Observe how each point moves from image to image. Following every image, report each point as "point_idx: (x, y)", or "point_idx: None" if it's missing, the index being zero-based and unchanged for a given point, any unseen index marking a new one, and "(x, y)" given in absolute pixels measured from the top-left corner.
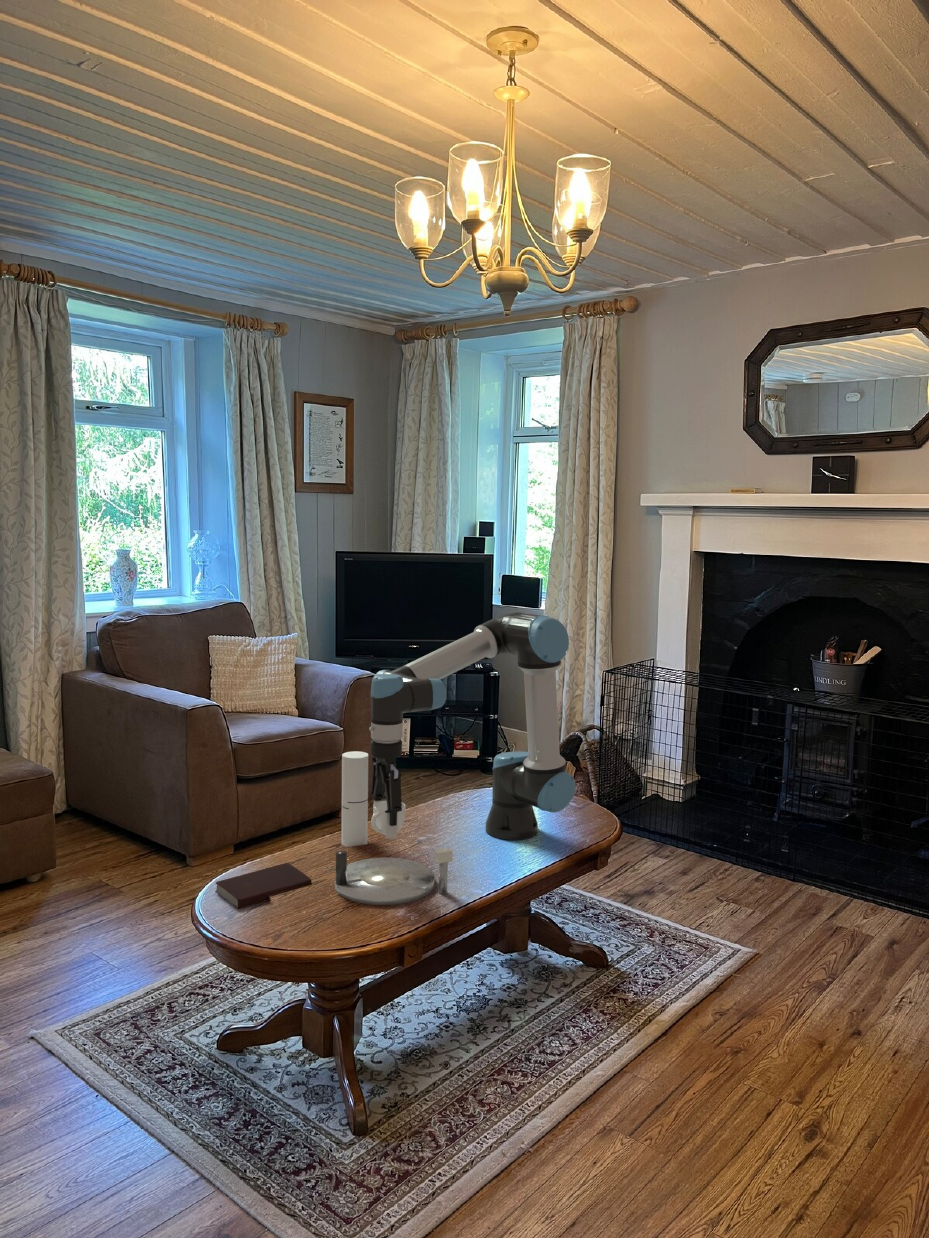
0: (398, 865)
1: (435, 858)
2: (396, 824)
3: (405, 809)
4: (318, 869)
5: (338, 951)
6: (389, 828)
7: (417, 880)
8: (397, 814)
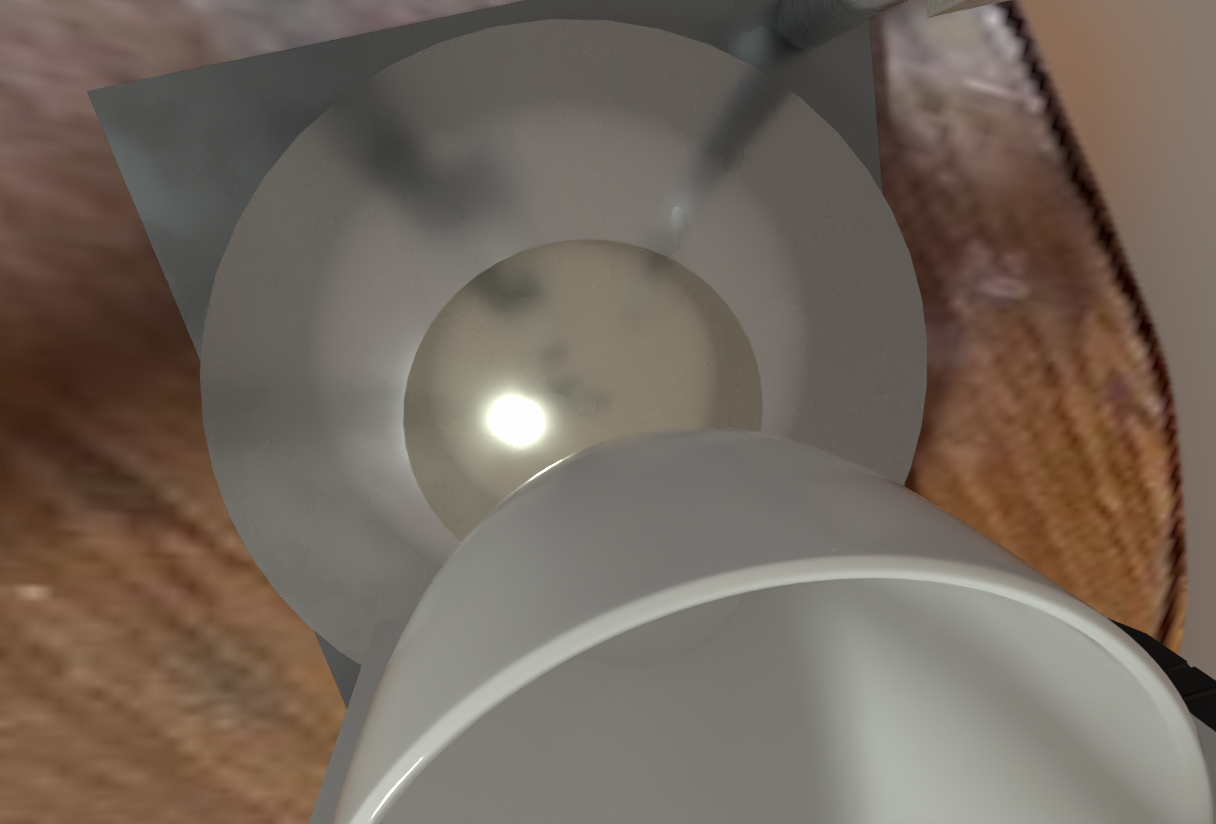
0: (391, 297)
1: (963, 6)
2: (1120, 626)
3: (882, 504)
4: (228, 752)
5: (1177, 645)
6: None
7: (716, 194)
8: (1198, 724)
